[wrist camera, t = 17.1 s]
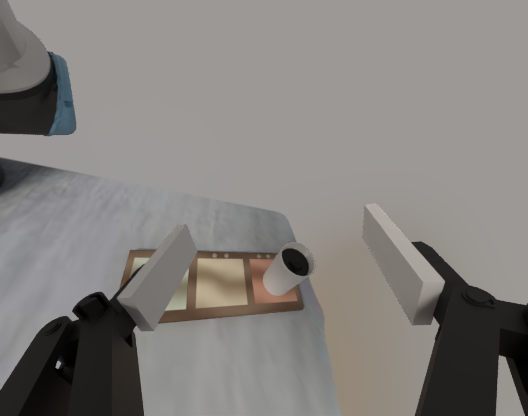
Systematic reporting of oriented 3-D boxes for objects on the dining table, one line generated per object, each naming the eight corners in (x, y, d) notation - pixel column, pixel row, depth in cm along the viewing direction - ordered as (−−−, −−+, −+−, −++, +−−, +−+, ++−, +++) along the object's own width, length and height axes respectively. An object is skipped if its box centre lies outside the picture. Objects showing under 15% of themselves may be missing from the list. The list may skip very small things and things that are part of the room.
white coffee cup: (296, 291, 42) (322, 270, 35) (269, 303, 38) (293, 282, 32) (280, 262, 45) (302, 238, 38) (255, 271, 42) (273, 246, 35)
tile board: (130, 252, 37) (130, 249, 36) (287, 255, 49) (289, 253, 48) (110, 328, 29) (108, 326, 28) (301, 310, 41) (304, 308, 40)
